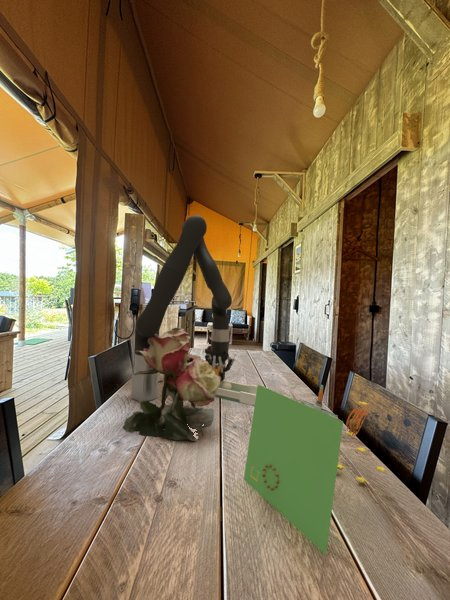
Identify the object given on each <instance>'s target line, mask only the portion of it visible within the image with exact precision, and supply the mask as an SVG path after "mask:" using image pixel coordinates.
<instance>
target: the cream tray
mask: <svg viewBox="0 0 450 600" xmlns="http://www.w3.org/2000/svg"><path fill="white" fill-rule="evenodd" d="M224 382H229V383H230V384H231V386H232V387H231V390H227V389H222V388H218V390H217V393H216V395H215V397H214V398H221V399H223V400H229V401H233V402H238V403H242V404H245V405H249V406H255V400H256V393H257V386H258V385H255V384H244V383H239V382H235V381H230V380H225V379H224ZM264 387H265V388H267V389H270V388H269V387H266V386H264Z"/></svg>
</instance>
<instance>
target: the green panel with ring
mask: <svg viewBox="0 0 450 600" xmlns="http://www.w3.org/2000/svg"><path fill="white" fill-rule="evenodd" d="M256 386H257V393H256V400H255V406H254V405H253V406H254V407H253V413H252V414H253V415H252V421H251V428H250V434H249V442H248V446H247V447H248V448H247V455H246V461H245V462H246V463H245V468H244V475H243V480H244V482H246V483H247V484H248V485H249V486H250V487H251V488H252V489H254V490H255V492H257V493H258V494H259V495H260V496H261V497H262V498H263V499H265V500H266V501H267V503H269V504H270V505H271V506H272V507H273V508H274V509H275V510H276V511H277V512H278V513H280V514H281V515H282V516H283V517H284V518H285V519H287V520H288V522H290V523H291V524H292V525H293V526H294V527H295V528H296V529H297V530H298V531H299V532H301V534H303V536H304V537H306V539H308V540H309V541H310V542H311V543H312V544H314V545H315V547H316V548H318V549H319V551H321V552H323V554H324V555H326V556H327V549H328V541H329V534H330V528H331V519H332V512H333V511H332V510H333V505H334V496H335V489H336V479H337V473H338V469H340V470H342V469H345V468H346V467H345V466H342V464H339V463H340V462H341V461H342V460H341V459H339V458H340V457H339V456H340V450H341V442H342V435H343V426H344V421H343V420H341V419H338V416H339V415H337V414H335V413H333V412H331V411H328V410H327V409H324V408H323V397H324V385H323V384H320V387H319V391H318V396H317V400H316V402H315V404H313V403H311V402H308V401H305V400H302V403H301V402H299V401H297V400H295V399H292V398H290V397H289V396H285V395H283V394H281V393H279V392H277V391H273V390H272V389H270V388H269V389H267V388H268V387H266V386H262V385H260V384H257V385H256ZM265 387H266V388H265ZM357 404H359V407H358V408H357V407H354V408H353V410H352V411H351V412H350V414H349V415H348V418H347V419H346V423H345V425H346V427H347V428H346V430H345V434H346V435H349V436H353V437H356V435H357V434H358V433H359V432H360V429H361V427H362V426H363V423H364V421H365V420H366V418H367V416H368V413H369V412H370V411H369V410H370V409H371V406H370V404H369V403H366V402H365V401H360V400H359V401H358V402H357ZM368 406H369V407H368ZM361 407H362V408H361ZM367 409H368V410H367ZM353 413H354V415H353ZM352 415H353V416H352ZM351 416H352V418H351ZM348 430H349V431H348ZM356 451H360V452H361V453H364V452H368V450H367V449H365V448H364V447H360V446H356ZM375 468H376V469H375V470H376V471H380V472H382V473H384V472H388V469H387V468H386V469H385V468H384V466H379V465H376V466H375ZM356 481H359V482H361V483H363V484H364V482H368V480H366V479H365V478H364V477H360V476H356Z"/></svg>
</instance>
